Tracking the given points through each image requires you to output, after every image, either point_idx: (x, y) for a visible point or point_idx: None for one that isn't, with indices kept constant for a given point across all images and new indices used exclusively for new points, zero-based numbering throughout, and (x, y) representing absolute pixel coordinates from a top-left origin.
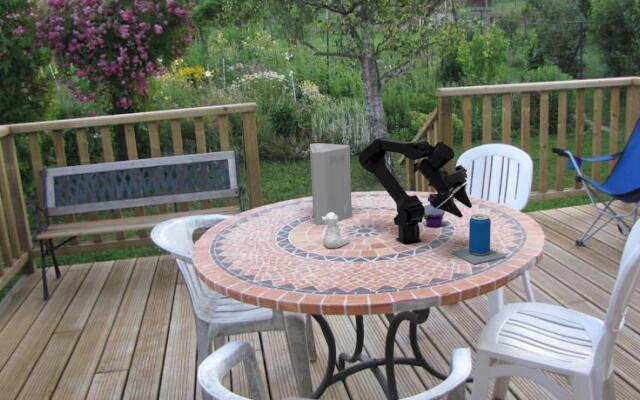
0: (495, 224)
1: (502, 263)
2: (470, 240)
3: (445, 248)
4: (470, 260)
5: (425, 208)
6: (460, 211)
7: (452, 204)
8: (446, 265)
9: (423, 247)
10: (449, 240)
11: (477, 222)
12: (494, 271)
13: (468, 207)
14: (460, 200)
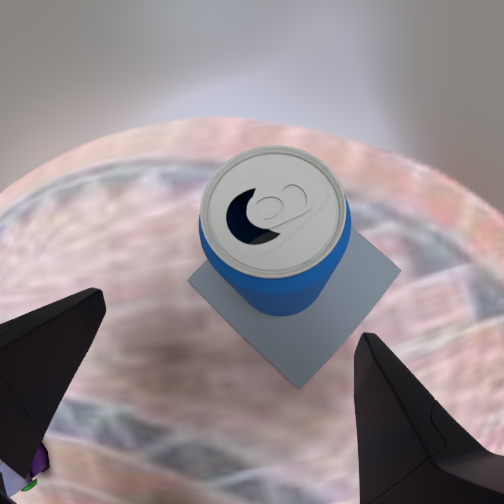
0: (4, 269)
1: (346, 185)
2: (313, 298)
3: (239, 421)
4: (379, 291)
5: (9, 491)
6: (375, 359)
7: (477, 445)
8: (429, 367)
9: (250, 495)
10: (141, 413)
11: (350, 219)
12: (422, 200)
13: (100, 322)
14: (51, 396)
